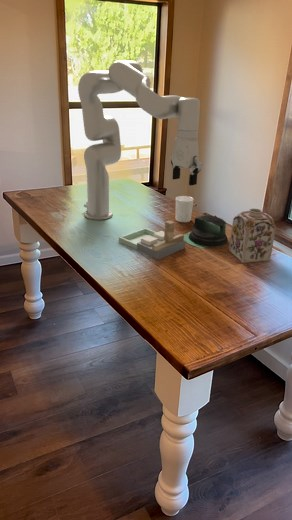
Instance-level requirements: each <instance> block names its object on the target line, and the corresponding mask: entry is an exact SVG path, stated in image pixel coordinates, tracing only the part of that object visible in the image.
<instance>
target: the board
mask: <svg viewBox="0 0 292 520" xmlns="http://www.w3.org/2000/svg"><path fill="white" fill-rule="evenodd" d="M161 241H164V240H159V239H158V242H157V243H159V242H161ZM155 244H156V243H155ZM152 245H154V244H152ZM152 245H147V244H145V243H142V242H138V243H137V250H136V251H137V252H140V253H143V254H145V255H146V256H149V257H150V258H151V257H152V258H153V259H156V260H162V259H163V258H166V257H169V256H170V255H173V254H174V253H177V252H179V251H182V250H184V249H185V248H186V241H185V240H182V241H180V242H177V243H175V244H172V245H170V246H167V247H165V248H163V249H160V250H158V251H153V250H152Z"/></svg>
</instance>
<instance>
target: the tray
mask: <svg viewBox="0 0 292 520" xmlns="http://www.w3.org/2000/svg"><path fill="white" fill-rule="evenodd" d="M156 232H157V231H154V230H153V229H152V230H151V229H150V228H147V227H143V228H141V229H138V230H134V231H132V232H130V233H127V234H124V235H120V236H119V237H118V243H120V244H122V245H123V246H126V247H128V248H131V249H133V250H135V251H137V243H138V242H141V238H143V237H146V236H148V235H150V236H152V237H153V235H154V233H156Z"/></svg>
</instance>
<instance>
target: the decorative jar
mask: <svg viewBox="0 0 292 520" xmlns="http://www.w3.org/2000/svg"><path fill="white" fill-rule="evenodd" d="M232 220H233V221H232V224H231V225H232V226H231V232H230V239H229V247H228V250H229V252H230V253H232V255H233V256H235V257H236V259H237V260H238V261H239V262H241V263H242V264H245V263H248V264H249V263H257V262H259V263H260V262H269V261H271V257H272V252H273V246H274V241H275V237H276V236H275V234H276V229H277V227H276V223H275V222H274V218H273V217H272V216H271V215H270V214H268V213H266V212H263V210H262V209H259V208H249V210H244V211H242V212H240V213H238V214H237V215H235V216H234V217H233V219H232Z"/></svg>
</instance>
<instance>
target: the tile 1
mask: <svg viewBox="0 0 292 520" xmlns="http://www.w3.org/2000/svg"><path fill="white" fill-rule="evenodd" d="M141 242H142V243H145V244H147V245H152V244H155V243H157V242H158V238H155V237H152V236H150V235H148V236H146V237H143V238H141Z"/></svg>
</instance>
